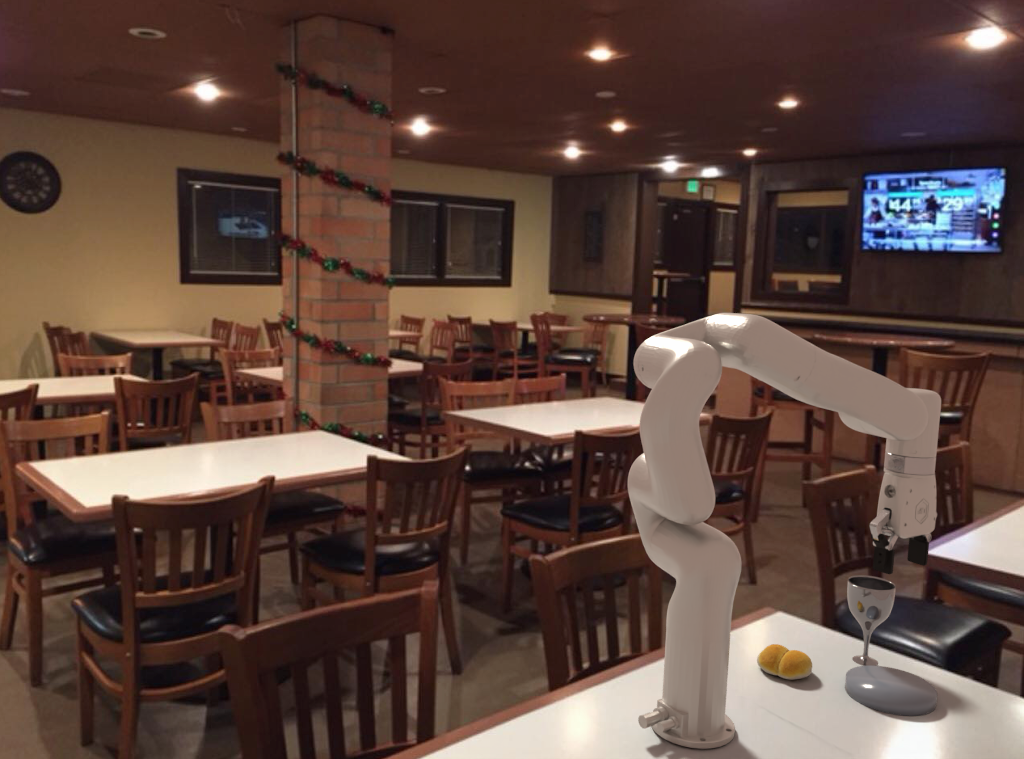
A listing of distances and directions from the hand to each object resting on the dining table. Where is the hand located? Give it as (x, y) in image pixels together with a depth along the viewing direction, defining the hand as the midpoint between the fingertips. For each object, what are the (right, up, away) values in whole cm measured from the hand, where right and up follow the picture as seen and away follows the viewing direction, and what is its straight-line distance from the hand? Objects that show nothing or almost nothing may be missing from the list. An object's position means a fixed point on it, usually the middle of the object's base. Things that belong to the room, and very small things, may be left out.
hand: (900, 567), depth 143 cm
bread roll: (-12, -21, +10) cm, 26 cm away
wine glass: (0, -21, +15) cm, 26 cm away
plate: (-1, -22, +2) cm, 22 cm away
